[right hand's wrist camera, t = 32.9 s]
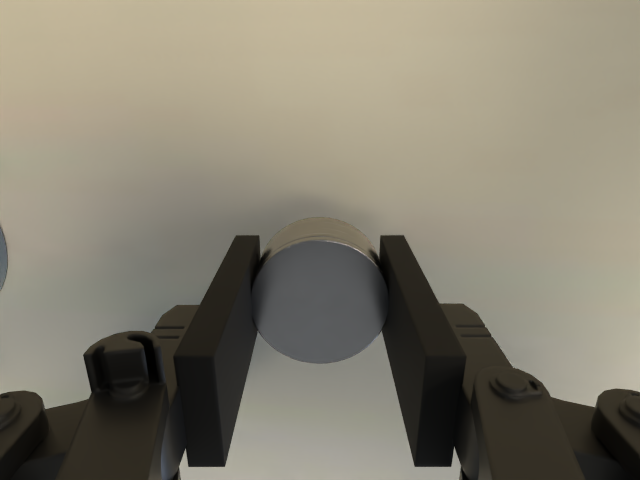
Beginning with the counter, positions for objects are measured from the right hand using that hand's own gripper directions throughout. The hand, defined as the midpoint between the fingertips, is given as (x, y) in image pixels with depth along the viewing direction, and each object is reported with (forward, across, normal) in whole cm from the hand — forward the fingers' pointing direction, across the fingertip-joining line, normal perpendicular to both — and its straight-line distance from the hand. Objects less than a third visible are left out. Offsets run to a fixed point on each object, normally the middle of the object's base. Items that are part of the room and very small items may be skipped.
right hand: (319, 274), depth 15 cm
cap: (-2, 0, 0) cm, 2 cm away
